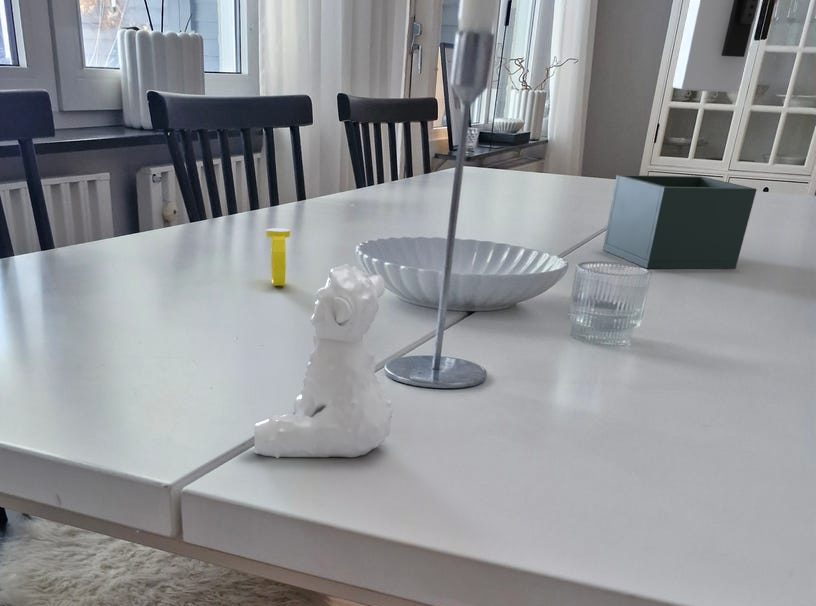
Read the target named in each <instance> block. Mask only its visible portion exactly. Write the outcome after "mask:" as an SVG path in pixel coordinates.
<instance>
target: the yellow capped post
mask: <svg viewBox="0 0 816 606" xmlns="http://www.w3.org/2000/svg"><path fill="white" fill-rule="evenodd" d="M265 236H266V237H268V238H271V239H270V272H271V273H270V274H271V275H270V277H271V284H272V286H279V287H281V286H285V285H286V263H287V262H286V238H290V237H291V230H290V229H288V228H281V227H280V228H278V227H275V228H274V227H272V228H265Z"/></svg>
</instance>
